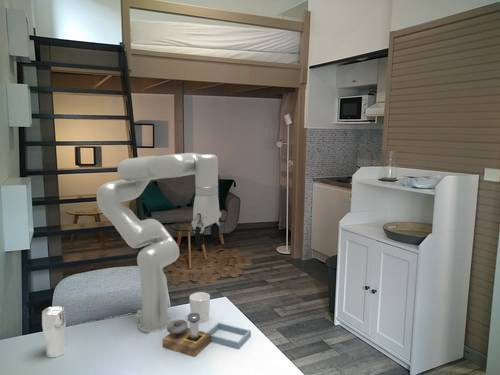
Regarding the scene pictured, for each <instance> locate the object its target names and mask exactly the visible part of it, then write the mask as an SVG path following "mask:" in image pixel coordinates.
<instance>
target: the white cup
mask: <svg viewBox="0 0 500 375" xmlns="http://www.w3.org/2000/svg"><path fill="white" fill-rule="evenodd" d="M210 300H211V295H210V293H207V292H199V291H198V292H195V293H192V294H189V309H190V314H191V313H198V314H200V320H199V321H198V322H199V323H204V322H207V321H208V320H209V318H210V317H209V316H210V306H211V304H210V302H211V301H210Z"/></svg>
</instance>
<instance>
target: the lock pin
mask: <svg viewBox="0 0 500 375" xmlns="http://www.w3.org/2000/svg"><path fill="white" fill-rule="evenodd" d="M199 320H200V314H198V313H191V312H190V313H189V314H187V321H188V322H189V328H190V340H191V341H195V342H196V341H198V340H199V331H200V329H199V325H200V324H199V323H200V322H198V321H199Z"/></svg>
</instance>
